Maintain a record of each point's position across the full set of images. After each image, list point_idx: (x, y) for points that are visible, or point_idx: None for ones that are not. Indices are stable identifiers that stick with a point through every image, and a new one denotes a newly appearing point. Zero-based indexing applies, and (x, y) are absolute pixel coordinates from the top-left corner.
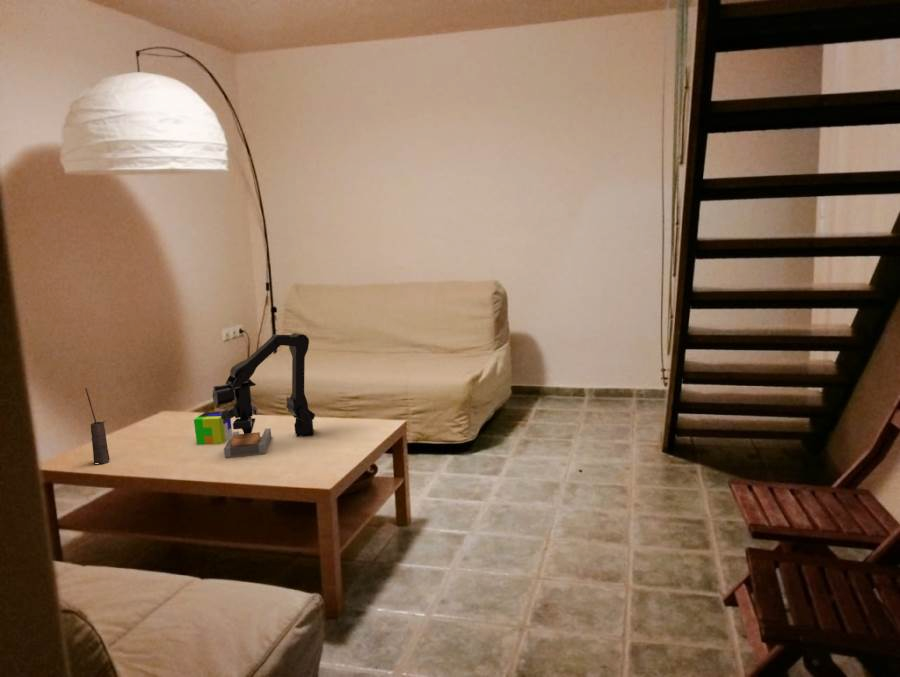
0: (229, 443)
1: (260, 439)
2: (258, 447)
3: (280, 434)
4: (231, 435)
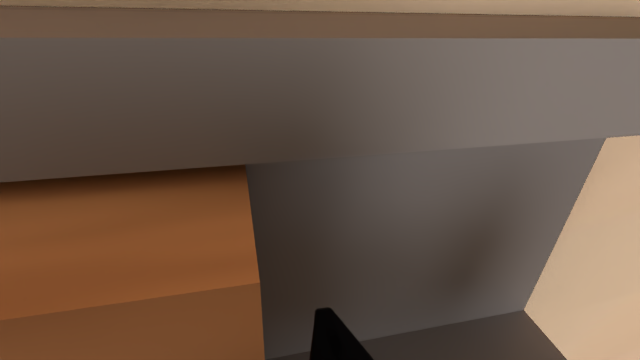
0: (35, 114)
1: (462, 296)
2: None
3: None
4: (635, 42)
